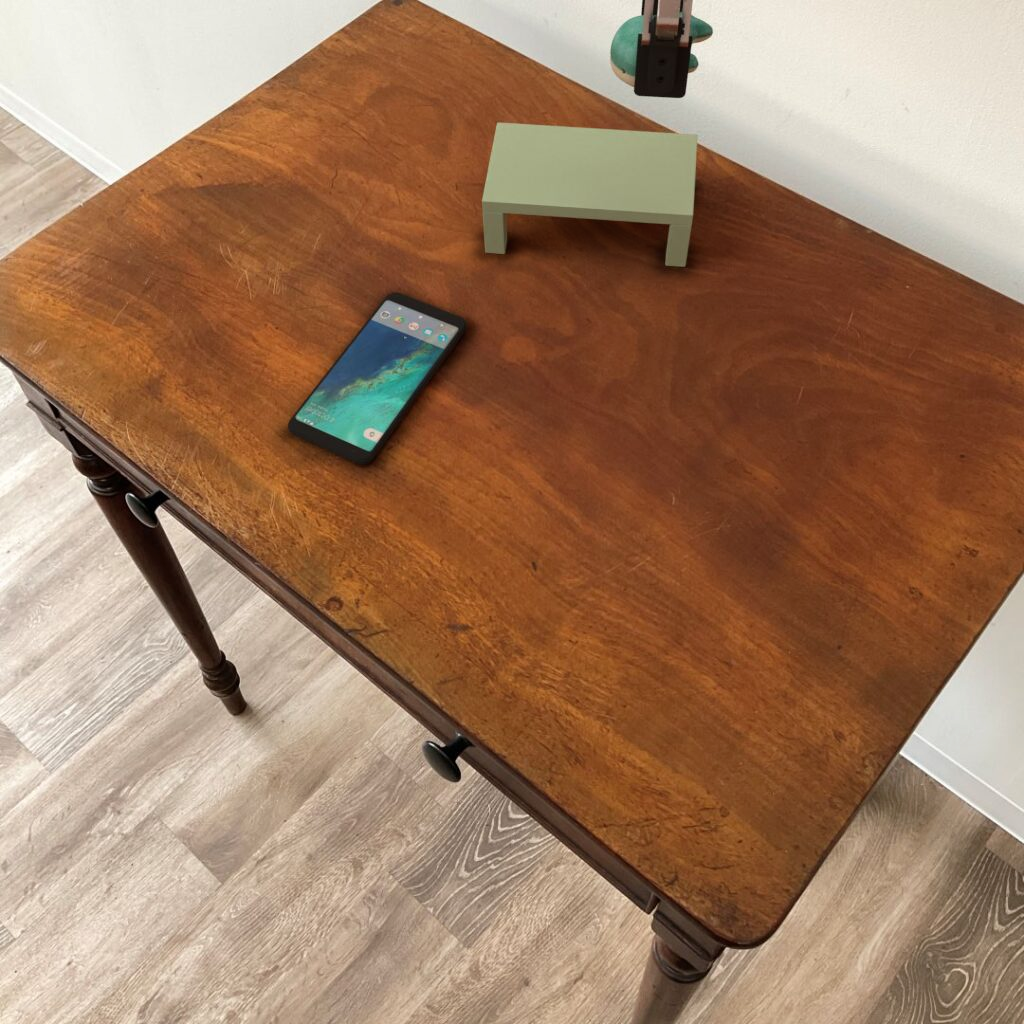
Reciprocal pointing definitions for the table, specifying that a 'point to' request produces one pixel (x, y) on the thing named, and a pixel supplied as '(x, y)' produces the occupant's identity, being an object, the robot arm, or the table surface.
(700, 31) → the whale figurine
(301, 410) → the smartphone
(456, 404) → the table surface
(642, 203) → the miniature table
